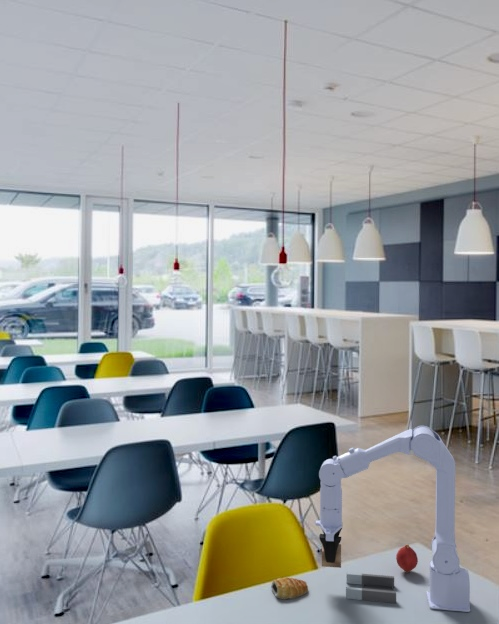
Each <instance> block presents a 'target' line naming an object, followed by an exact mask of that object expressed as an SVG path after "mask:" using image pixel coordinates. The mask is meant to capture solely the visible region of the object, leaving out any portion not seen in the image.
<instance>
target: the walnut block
mask: <svg viewBox="0 0 499 624" xmlns="http://www.w3.org/2000/svg"><path fill="white" fill-rule="evenodd" d="M321 567H324V568H325V567H328V568H340V569H341V568H342V544H341V543H339V545H338V548H337V552H336V559H335V562H334V563H330V562H326V558H325V553H324V548H323V545H322V544H321Z"/></svg>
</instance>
